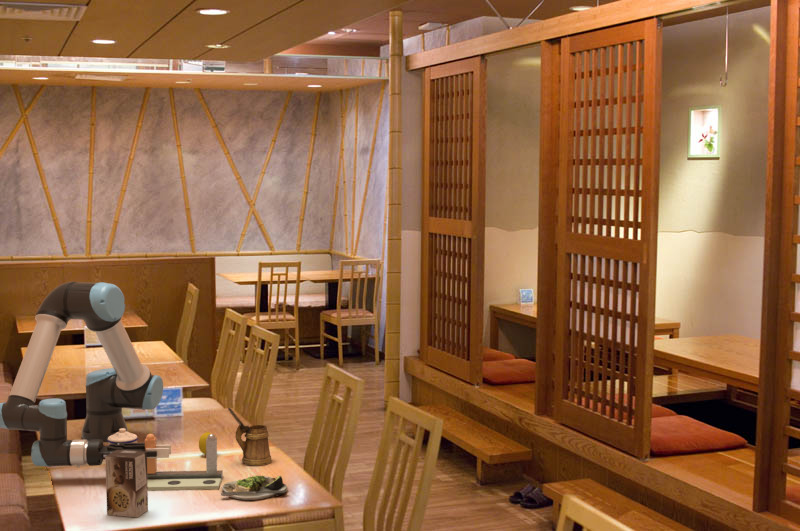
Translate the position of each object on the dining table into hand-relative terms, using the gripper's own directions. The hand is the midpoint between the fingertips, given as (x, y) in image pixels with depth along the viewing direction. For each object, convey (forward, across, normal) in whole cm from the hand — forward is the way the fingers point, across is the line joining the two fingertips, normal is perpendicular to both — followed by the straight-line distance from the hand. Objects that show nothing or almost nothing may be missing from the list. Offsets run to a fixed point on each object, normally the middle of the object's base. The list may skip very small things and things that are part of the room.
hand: (169, 451), depth 282 cm
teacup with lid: (-17, -16, -9) cm, 25 cm away
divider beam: (+2, 0, -8) cm, 9 cm away
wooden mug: (+22, -16, -9) cm, 29 cm away
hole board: (+3, +6, -8) cm, 11 cm away
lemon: (+8, -24, -9) cm, 27 cm away
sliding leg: (-5, 0, -6) cm, 8 cm away
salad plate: (+26, +12, -9) cm, 30 cm away
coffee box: (-7, +28, -9) cm, 30 cm away
